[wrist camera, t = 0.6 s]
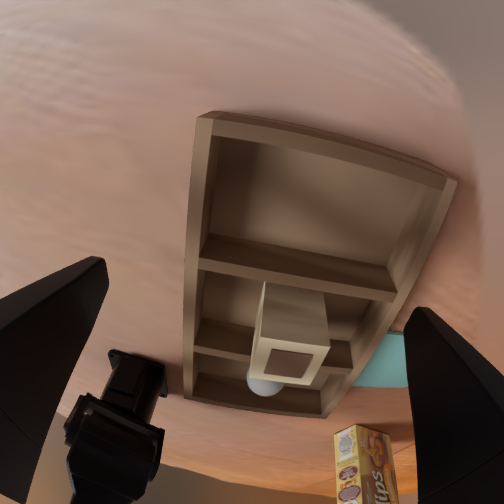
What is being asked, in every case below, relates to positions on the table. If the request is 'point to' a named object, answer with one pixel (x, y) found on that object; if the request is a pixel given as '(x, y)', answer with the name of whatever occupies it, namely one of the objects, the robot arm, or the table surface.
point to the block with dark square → (289, 334)
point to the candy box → (364, 467)
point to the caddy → (298, 249)
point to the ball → (264, 386)
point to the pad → (386, 364)
